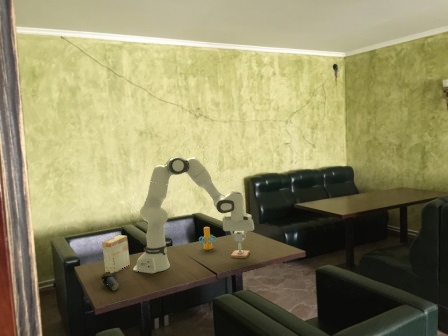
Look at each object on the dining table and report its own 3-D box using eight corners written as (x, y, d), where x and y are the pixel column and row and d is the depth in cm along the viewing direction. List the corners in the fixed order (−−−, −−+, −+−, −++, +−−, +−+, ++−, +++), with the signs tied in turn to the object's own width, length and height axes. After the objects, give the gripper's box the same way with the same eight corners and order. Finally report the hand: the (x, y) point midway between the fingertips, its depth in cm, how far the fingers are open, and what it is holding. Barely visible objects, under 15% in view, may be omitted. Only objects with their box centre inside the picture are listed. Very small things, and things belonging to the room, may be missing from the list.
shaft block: (231, 257, 236) (230, 243, 235) (234, 252, 246) (233, 238, 245) (246, 258, 234) (245, 243, 233) (249, 252, 243) (248, 238, 242)
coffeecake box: (122, 264, 239) (119, 234, 237) (130, 265, 236) (127, 235, 234) (104, 272, 226) (101, 241, 224) (113, 274, 223) (110, 242, 221)
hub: (234, 241, 237) (233, 234, 236) (236, 238, 242) (235, 231, 242) (242, 241, 235) (242, 234, 235) (244, 238, 241) (243, 231, 240)
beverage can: (103, 287, 207) (110, 296, 197) (100, 275, 205) (106, 283, 195) (119, 280, 211) (126, 288, 201) (115, 268, 209) (122, 275, 199)
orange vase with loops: (217, 245, 263) (216, 225, 261) (216, 250, 253) (214, 229, 251) (200, 246, 264) (199, 226, 263) (198, 251, 254) (196, 230, 252)
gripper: (220, 217, 237) (222, 238, 238) (252, 217, 231) (253, 238, 233) (223, 215, 243) (225, 235, 244) (253, 215, 237) (255, 236, 239)
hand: (239, 237), depth 239 cm, fingers closed on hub, 6 cm apart
